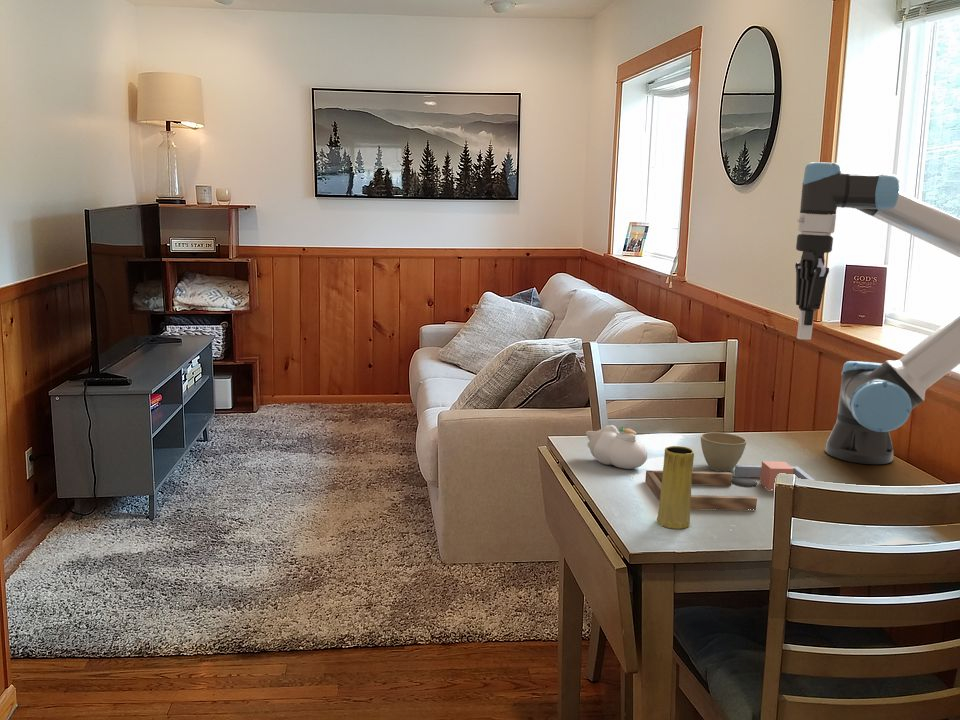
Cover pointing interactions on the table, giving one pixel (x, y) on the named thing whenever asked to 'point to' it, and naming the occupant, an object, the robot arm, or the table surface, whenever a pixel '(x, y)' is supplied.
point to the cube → (773, 472)
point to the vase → (676, 488)
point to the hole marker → (744, 482)
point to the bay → (756, 471)
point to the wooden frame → (706, 500)
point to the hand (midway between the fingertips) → (803, 338)
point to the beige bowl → (722, 450)
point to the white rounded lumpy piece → (617, 447)
